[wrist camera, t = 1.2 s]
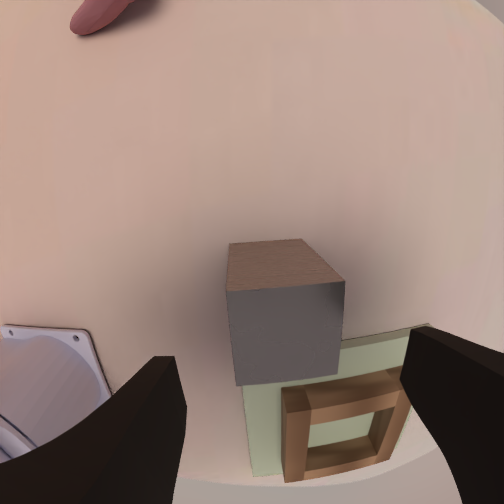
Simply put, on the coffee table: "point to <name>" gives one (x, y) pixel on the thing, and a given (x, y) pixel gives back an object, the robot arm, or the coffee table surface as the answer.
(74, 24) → the video game controller
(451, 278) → the coffee table surface
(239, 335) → the grey brown rectangular block
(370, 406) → the socket block
